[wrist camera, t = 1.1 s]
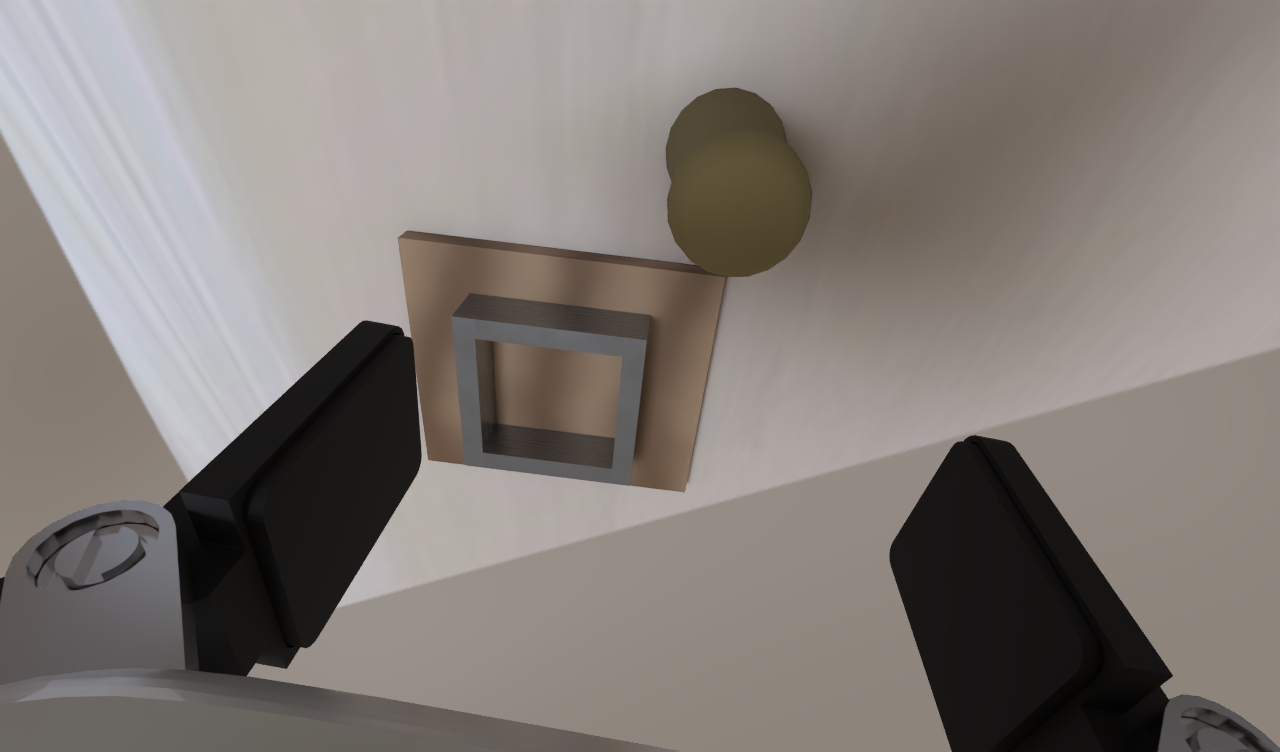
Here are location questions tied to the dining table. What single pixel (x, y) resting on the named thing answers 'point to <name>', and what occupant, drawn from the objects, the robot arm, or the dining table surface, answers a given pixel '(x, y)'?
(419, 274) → the collar board
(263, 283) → the dining table surface
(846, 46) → the dining table surface
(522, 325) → the collar
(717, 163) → the cork
